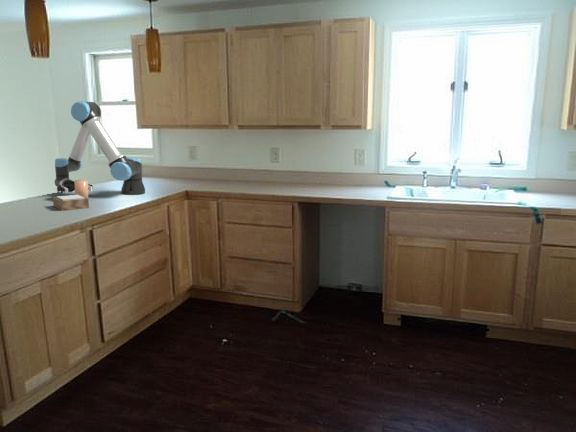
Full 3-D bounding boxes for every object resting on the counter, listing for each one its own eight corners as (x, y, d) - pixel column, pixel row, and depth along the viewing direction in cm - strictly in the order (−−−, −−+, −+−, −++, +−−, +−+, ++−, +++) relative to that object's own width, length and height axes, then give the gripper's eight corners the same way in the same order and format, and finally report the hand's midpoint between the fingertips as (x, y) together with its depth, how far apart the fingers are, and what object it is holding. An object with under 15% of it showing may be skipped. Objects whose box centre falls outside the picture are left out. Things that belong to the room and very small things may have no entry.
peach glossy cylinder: (86, 199, 276) (84, 179, 273) (90, 201, 271) (89, 181, 268) (73, 200, 271) (72, 180, 269) (78, 202, 266) (76, 181, 264)
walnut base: (79, 203, 263) (79, 194, 262) (88, 207, 253) (88, 197, 252) (53, 206, 253) (52, 196, 252) (61, 210, 243) (61, 200, 242)
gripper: (88, 189, 295) (101, 194, 279) (46, 192, 278) (57, 198, 263) (88, 177, 293) (100, 182, 278) (45, 180, 276) (56, 185, 261)
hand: (79, 190), depth 270 cm, fingers open, 13 cm apart
